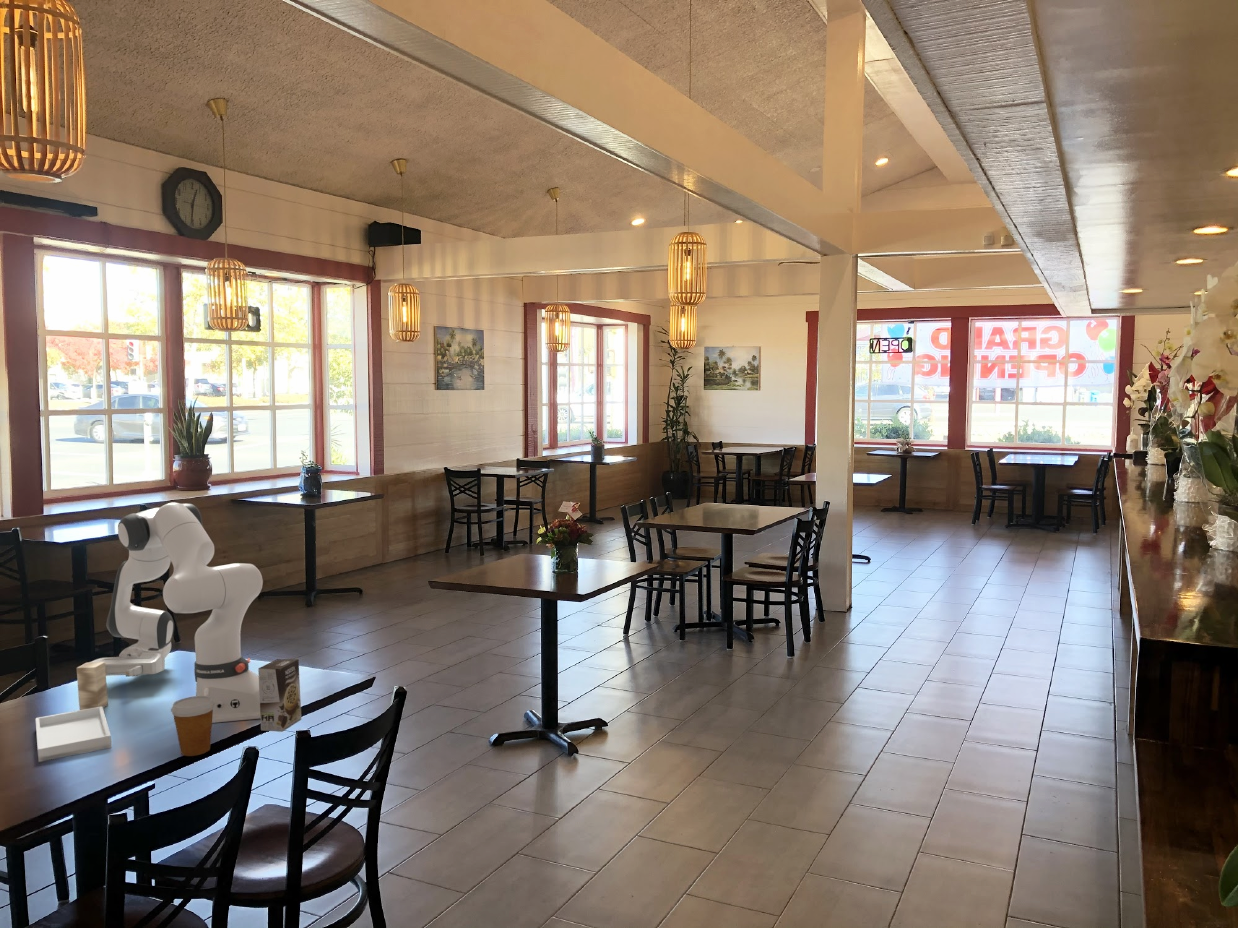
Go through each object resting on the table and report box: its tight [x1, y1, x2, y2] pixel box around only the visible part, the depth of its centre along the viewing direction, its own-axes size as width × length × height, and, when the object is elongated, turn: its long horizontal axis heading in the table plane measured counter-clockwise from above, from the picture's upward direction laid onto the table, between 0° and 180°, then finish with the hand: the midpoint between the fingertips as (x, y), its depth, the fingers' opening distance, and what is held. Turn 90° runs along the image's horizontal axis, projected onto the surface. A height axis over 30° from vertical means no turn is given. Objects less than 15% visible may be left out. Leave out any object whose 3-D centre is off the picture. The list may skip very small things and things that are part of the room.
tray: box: [35, 706, 112, 763], centre depth 234 cm, size 26×15×3 cm, turn 33°
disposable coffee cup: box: [170, 695, 215, 757], centre depth 223 cm, size 10×10×12 cm
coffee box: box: [257, 658, 302, 733], centre depth 239 cm, size 9×6×16 cm
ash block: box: [76, 661, 109, 710], centre depth 256 cm, size 5×5×12 cm
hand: (111, 674), depth 266 cm, fingers open, 8 cm apart
